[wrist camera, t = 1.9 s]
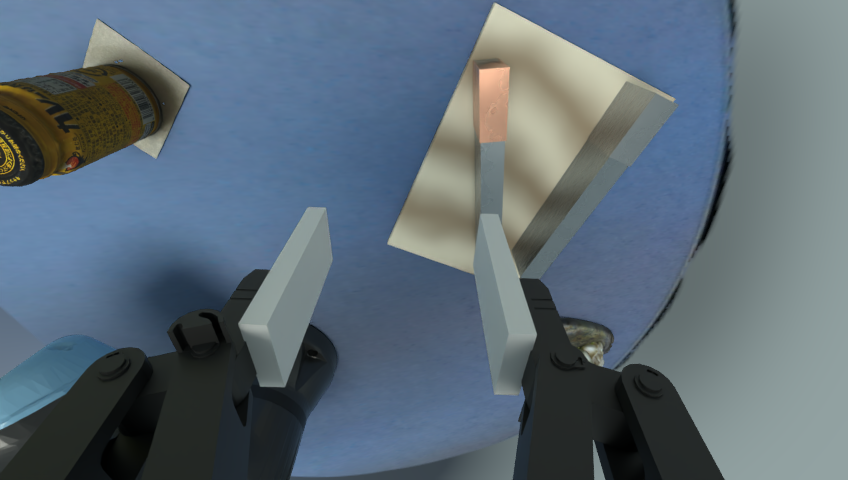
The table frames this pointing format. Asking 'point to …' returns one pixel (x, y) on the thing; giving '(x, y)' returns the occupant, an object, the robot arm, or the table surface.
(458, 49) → the table surface
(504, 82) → the tong arm
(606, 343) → the log
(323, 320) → the table surface
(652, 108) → the tongs fixed
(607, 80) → the board
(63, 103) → the condiment
